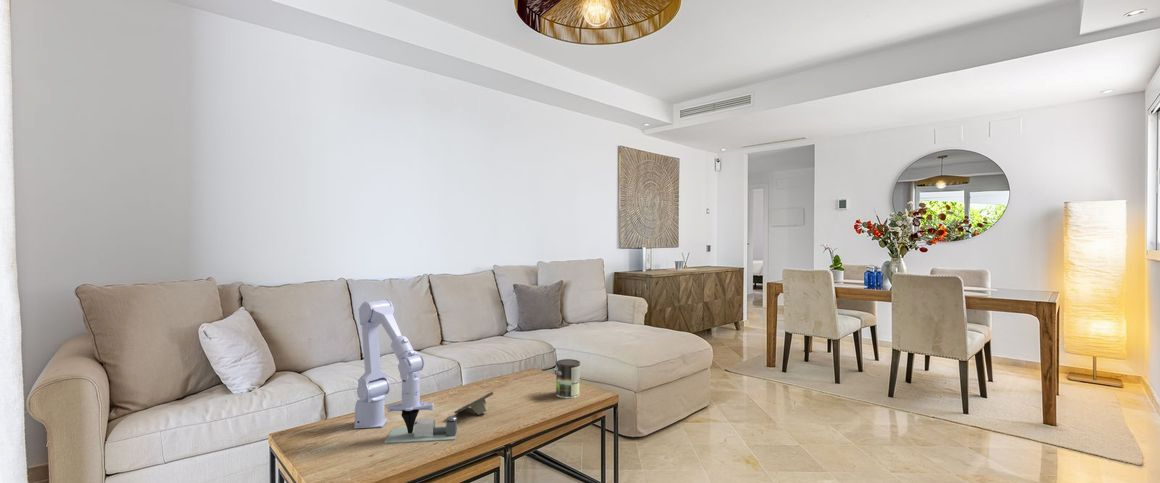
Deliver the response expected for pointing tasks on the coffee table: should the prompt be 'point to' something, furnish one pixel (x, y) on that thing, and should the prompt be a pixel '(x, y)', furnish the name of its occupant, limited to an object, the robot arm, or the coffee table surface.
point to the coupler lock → (424, 427)
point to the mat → (404, 437)
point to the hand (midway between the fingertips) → (410, 432)
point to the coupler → (447, 427)
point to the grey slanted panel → (477, 404)
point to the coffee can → (567, 378)
